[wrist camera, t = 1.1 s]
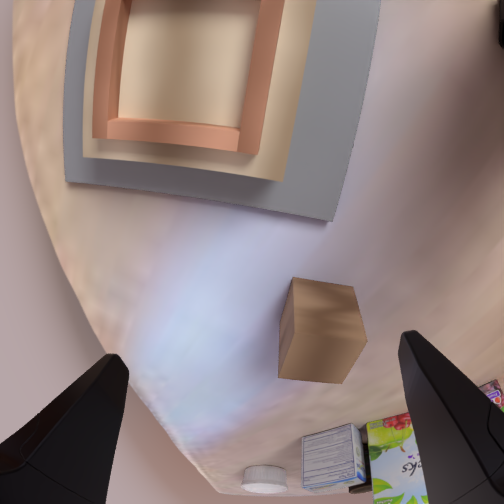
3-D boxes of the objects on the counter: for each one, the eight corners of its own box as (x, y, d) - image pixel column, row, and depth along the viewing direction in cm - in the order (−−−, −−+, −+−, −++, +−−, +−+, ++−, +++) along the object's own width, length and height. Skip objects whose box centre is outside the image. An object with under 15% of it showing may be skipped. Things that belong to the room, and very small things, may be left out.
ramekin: (277, 478, 51) (276, 495, 47) (237, 471, 50) (234, 489, 46) (296, 467, 46) (295, 486, 42) (251, 460, 45) (249, 481, 42)
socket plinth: (315, -14, 12) (324, -38, 9) (282, 167, 18) (283, 189, 15) (124, -19, 12) (91, -34, 9) (106, 145, 18) (72, 162, 15)
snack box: (497, 375, 30) (529, 459, 17) (489, 394, 33) (515, 471, 20) (364, 421, 35) (374, 519, 22) (367, 435, 38) (375, 523, 25)
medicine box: (313, 444, 40) (314, 493, 32) (300, 436, 38) (300, 488, 31) (361, 431, 37) (367, 482, 30) (351, 421, 35) (357, 477, 28)
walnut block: (352, 286, 24) (367, 341, 19) (333, 329, 26) (341, 383, 21) (292, 276, 24) (294, 332, 19) (279, 322, 26) (278, 377, 21)
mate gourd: (356, 439, 38) (362, 495, 30) (392, 440, 39) (400, 491, 31) (332, 455, 42) (335, 506, 34) (368, 456, 43) (373, 503, 34)
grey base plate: (381, -28, 11) (384, -31, 11) (330, 217, 21) (332, 221, 20) (91, -39, 11) (85, -42, 11) (71, 177, 21) (65, 181, 20)
